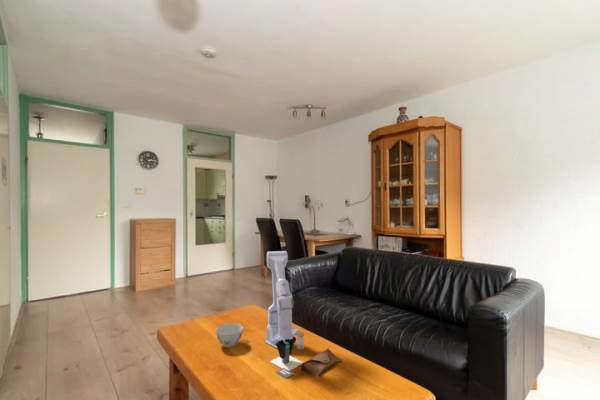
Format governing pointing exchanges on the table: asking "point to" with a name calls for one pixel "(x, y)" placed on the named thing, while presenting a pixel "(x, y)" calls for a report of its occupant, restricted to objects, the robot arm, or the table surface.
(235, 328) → the teacup
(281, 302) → the robot arm
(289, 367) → the paper
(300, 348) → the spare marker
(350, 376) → the table surface
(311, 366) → the sunglasses case
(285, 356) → the marker
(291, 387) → the table surface
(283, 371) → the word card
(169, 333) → the table surface
